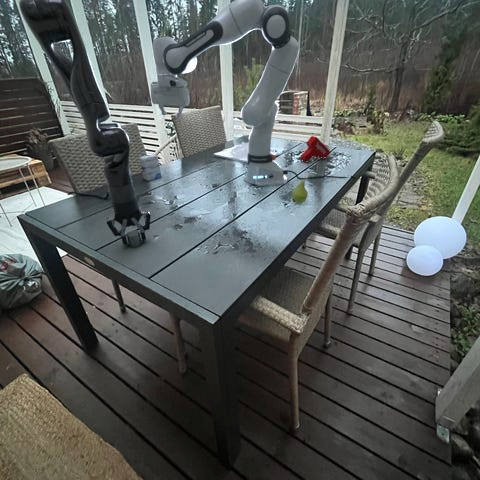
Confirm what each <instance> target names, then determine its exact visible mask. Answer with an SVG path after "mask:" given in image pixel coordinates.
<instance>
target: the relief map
mask: <svg viewBox="0 0 480 480" xmlns="http://www.w3.org/2000/svg"><path fill="white" fill-rule="evenodd" d="M248 152H249V141H247V142H245V141H243V142H242V143H241V144H238V145H236V146H232V147H230V148H229V147H228V148H227V149H226V148H224V149H222V151H219V152H215V153H213V156H214V157H218V158H222V159H227V160H230V161H231V160H232V161H236V162H242V163H246V164H248V163H247V155H248ZM270 153H272V154H273V155H274V156H275V157H277V156H279V155H280V153H279V152H277V151H272V150H270Z"/></svg>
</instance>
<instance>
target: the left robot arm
mask: <svg viewBox="0 0 480 480" xmlns="http://www.w3.org/2000/svg"><path fill="white" fill-rule="evenodd" d="M18 7H19V11H20V13H21V15H22V17H23V20H24V21H25V23H26V26H27V27H28V29H29V30H30V33H32V35H33V37H34V39H35V40H36V42H37V43H38V44H39V46H40V47H41V49H42V50H43V52H44V54H45V55H46V57H47V58H48V60H49V62H50V63H51V64H52V66H53V68H54V70H55V72H56V73H57V75H58V77H59V79H60V81H61V83H62V85H63V86H64V88H65V91H66V92H67V94H68V96H69V98H70V99H71V101H72V103H73V104H74V106H75V107H76V109H77V111H78V112H79V114H80V116H81V118H82V119H83V123H84V127H85V131H86V139H87V144H88V148H89V149H90V151H91V153H92V154H93V155H94V156H96V157H98V158H103V163H104V164H103V165H104V166H103V168H102V169H103V170H102V171H103V174H104V178H105V181H106V186H107V190H106V195H105V197H103V196H100V195H98V194H95V193H94V194H93V193H83V192H77V191H73V190H72V191H69V192H68V193H67V196H70V195H71V194H75V195H77V196H78V195H79V196H86V197H96V198H99V199H101V200H107V199H108V198H109V199H110V202H111V206H112V209H113V213H114V216H113V217H111V218H110V217H107V218H106V219H105V220H106V225H107V226H108V228H109V230H110V231H111V232H112V234H113V236H114V237H120V238H121V242H122V244H123V245H125V246H129V242H128V238H127V234H126V231H127V228H129V227H134V226H136V228H137V229H138V231H139V233H140V237H141V241H142V243H144V242H146V240H147V236H146V231H149V230H150V228H151V216H152V215H151V213H150V211H149V210H146V211H141V210H140V206H139V202H138V197H137V192H136V189H135V186H134V181H133V178H132V173H131V169H130V152H131V142H130V138H129V135H128V133H127V132H126V130H124V129H123V128H122V127H121V125H120V124H119V123H118V122H106V121H107V120H109V119H110V117H111V111H110V109H109V107H108V104H107V102H106V100H105V97H104V95H103V93H102V91H101V89H100V86H99V84H98V80H97V78H96V75H95V73H94V70H93V66H92V62H91V60H90V57H89V53H88V51H87V48H86V45H85V42H84V40H83V37H82V34H81V30H80V28H79V25H78V23H77V20H76V18H75V15H74V13H73V11H72V9H71V7H70V5H69V3H68V1H67V0H19V3H18ZM69 41H70V44H71V49H72V59H71V58H70V57H68V56H67V55H66V54H64V53H63V52H62V51H61V50H60V48H59V47H58V46H57V45H56V44H59V43H64V42H69ZM142 217H143V219H144V225H143V224H142V222H141V221H140V220H141V218H142ZM115 222H117V223H118V224H120V229H119V230H118V229H117V227H116V226H115Z"/></svg>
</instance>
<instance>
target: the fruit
mask: <svg viewBox="0 0 480 480" xmlns="http://www.w3.org/2000/svg"><path fill="white" fill-rule="evenodd" d="M309 177H311V175H310V174H309V175H308V176H307V177H305V178H306V179H301V181H300V182H298V184H297V185H296V186H295V187H294V188H293V190H292V191H291V198H292V200H293V201H294V202H295V203H297V204H301V203H304V202H305V201H306V200H307V198H308V196H309V195H308V190H307V189H306V184H305V183H306V180H308V179H307V178H309Z"/></svg>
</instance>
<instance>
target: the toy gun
mask: <svg viewBox="0 0 480 480" xmlns="http://www.w3.org/2000/svg"><path fill="white" fill-rule="evenodd" d="M306 146H307V148H306V149H305V151H304V152H303V153H301V154H300V160H301V161H302V160H303V161H302V162H305V163H307V164H308V163H309V161H310V160H311V158H313V157H314V158H319V159H322V160H327V158H328V157H329V156H330V154H331V153H332V152H331V151H330V150H329V148H328V147H326V145H325V144H324V143H323V142H322V141H321V140H320V139H319V138H318V137H317V136H315V135H314V136H313V135H311V136H310V137H309V139H308V140H307V141H306ZM321 157H322V158H321ZM323 157H327V158H324V159H323ZM306 161H308V162H306Z"/></svg>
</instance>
